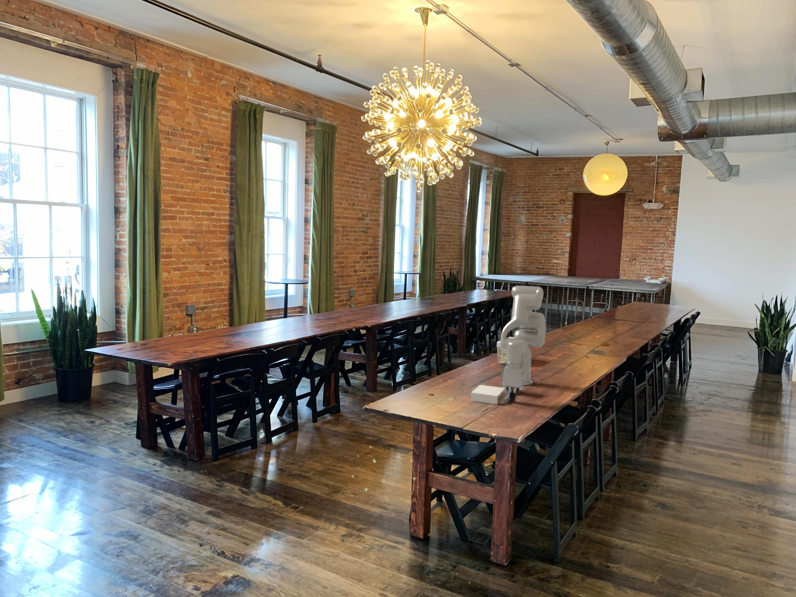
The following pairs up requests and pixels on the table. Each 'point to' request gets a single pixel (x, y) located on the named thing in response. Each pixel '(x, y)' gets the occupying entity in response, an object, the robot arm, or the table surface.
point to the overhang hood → (487, 394)
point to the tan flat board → (504, 399)
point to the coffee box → (503, 376)
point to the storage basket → (502, 353)
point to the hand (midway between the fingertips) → (512, 399)
